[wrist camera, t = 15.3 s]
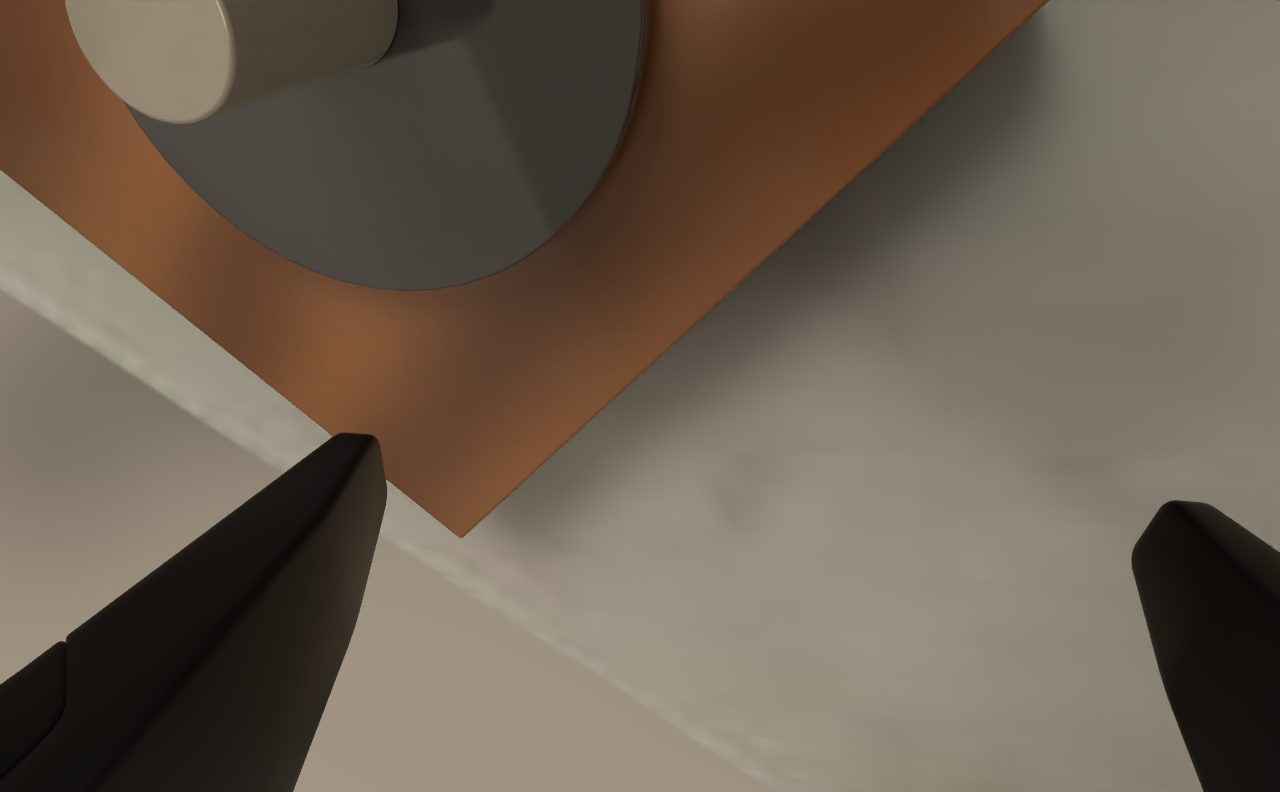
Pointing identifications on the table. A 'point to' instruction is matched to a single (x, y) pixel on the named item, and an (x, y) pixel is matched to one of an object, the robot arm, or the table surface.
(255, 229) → the lid
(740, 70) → the board
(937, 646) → the table surface
